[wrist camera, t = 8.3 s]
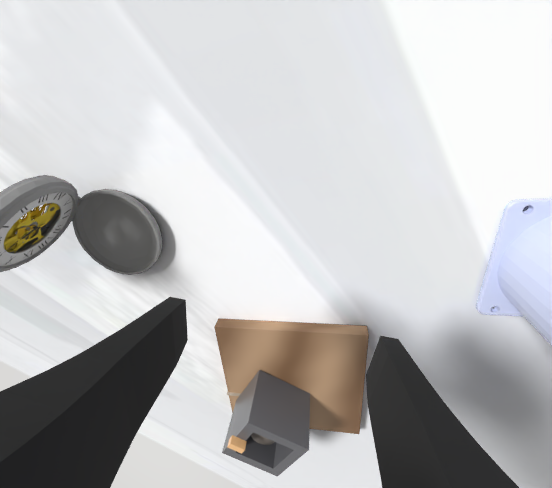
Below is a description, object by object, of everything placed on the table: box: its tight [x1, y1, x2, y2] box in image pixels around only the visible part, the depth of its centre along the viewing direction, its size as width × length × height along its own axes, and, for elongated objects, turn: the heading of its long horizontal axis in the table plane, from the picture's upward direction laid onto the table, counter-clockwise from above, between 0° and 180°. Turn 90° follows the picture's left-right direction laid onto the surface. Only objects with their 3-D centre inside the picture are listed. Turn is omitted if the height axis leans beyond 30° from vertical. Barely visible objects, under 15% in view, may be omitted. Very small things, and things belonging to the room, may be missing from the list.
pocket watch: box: [0, 175, 162, 275], centre depth 17 cm, size 8×8×10 cm
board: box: [215, 319, 369, 445], centre depth 24 cm, size 12×12×4 cm
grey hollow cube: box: [222, 370, 310, 476], centre depth 23 cm, size 5×5×5 cm
